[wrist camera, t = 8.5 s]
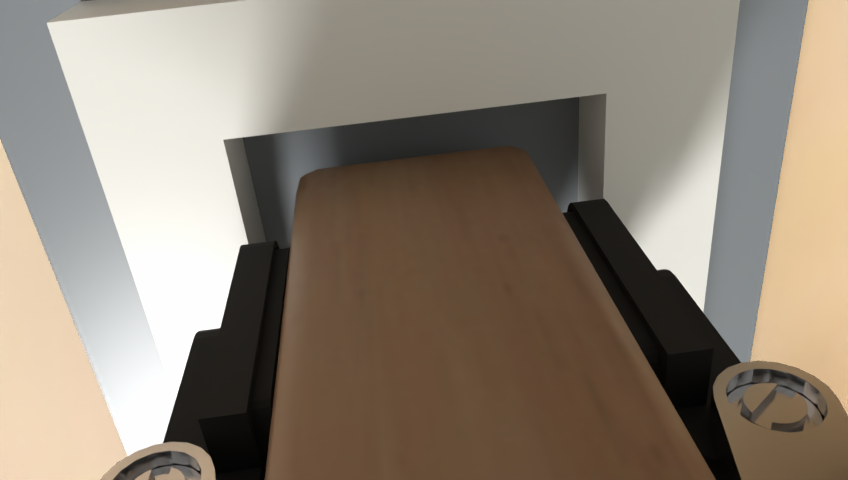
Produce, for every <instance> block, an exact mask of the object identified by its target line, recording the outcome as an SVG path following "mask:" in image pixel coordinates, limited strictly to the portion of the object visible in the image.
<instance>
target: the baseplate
mask: <svg viewBox="0 0 848 480" xmlns="http://www.w3.org/2000/svg"><path fill="white" fill-rule="evenodd" d="M807 5H808V0H0V139H1V142H2V144H3V147H4V149H5V152H6V154H7V157H8V159H9V162H10V164H11V167H12V169H13V172H14V174H15V177H16V179H17V182H18V184H19V187H20V189H21V192H22V194H23V197H24V199H25V202H26V204H27V207H28V209H29V212H30V214H31V217H32V219H33V222H34V224H35V227H36V229H37V232H38V234H39V236H40V239H41V241H42V244H43V246H44V249H45V251H46V254H47V256H48V259H49V261H50V264H51V266H52V269H53V271H54V274H55V276H56V279H57V281H58V284H59V286H60V289H61V291H62V294H63V296H64V299H65V301H66V304H67V306H68V309H69V311H70V314H71V316H72V319H73V321H74V324H75V326H76V329H77V331H78V334H79V336H80V338H81V341H82V343H83V346H84V348H85V351H86V353H87V356H88V358H89V361H90V363H91V366H92V368H93V371H94V373H95V376H96V378H97V381H98V383H99V386H100V388H101V391H102V393H103V396H104V398H105V401H106V403H107V406H108V408H109V411H110V413H111V416H112V418H113V421H114V423H115V426H116V428H117V431H118V433H119V436H120V438H121V441H122V443H123V445H124V448H125V450H126V453H127V455H128V456H129V455H131V454H132V453H134V452H136V451H139V450H141V449H144V448H147V447H149V446H152V445H156V444H161V443H163V441H164V438H165V434H166V431H167V427H168V424H169V421H170V417H171V414H172V410H173V407H174V404H175V400H176V397H177V393H178V390H179V386H180V383H181V380H182V376H183V373H184V369H185V366H186V362H187V359H188V356H189V352H190V349H191V345H192V342H193V339H194V336H195V334H196V333H197V332H198V331H201V330H209V329H216V328H220V327H221V323H222V319H223V315H224V310H225V306H226V302H227V298H228V294H229V290H230V286H231V282H232V278H233V274H234V270H235V265H236V261H237V257H238V253H239V249H240V246H241V245H245V244H253V243H261V242H269V241H277V243H278V245H279V249H284V248H290V244H291V235H292V226H293V217H294V208H295V199H296V192H297V189H298V185H299V181H300V178H301V177H302V176H304V175H305V174H308V173H310V172H312V171H314V170H317V169H323V168H331V167H339V166H347V165H355V164H363V163H371V162H379V161H387V160H395V159H404V158H412V157H420V156H428V155H436V154H444V153H452V152H460V151H468V150H476V149H484V148H493V147H501V146H512V147H516V148H521V149H524V150H526V151H527V153H528V154H529V156H530V158H531V160H532V161H533V163H534V165H535V167H536V168H537V170H538V172H539V173H540V175H541V177H542V179H543V180H544V182H545V184H546V186H547V187H548V189H549V191H550V193H551V194H552V196H553V198H554V200H555V201H556V203H557V205H558V206H559V208H560V210H561V212H562V213H564V212H567V209H568V205H569V204H570V203H573V202H581V201H589V200H597V199H605V200H606V201H607V202H608V203H609V205H610V206H611V207H612V209H613V210H614V212H615V213H616V214H617V216H618V217H619V218H620V220H621V221H622V223H623V224H624V225H625V227H626V228H627V229H628V231H629V232H630V234H631V235H632V236H633V238H634V239H635V241H636V242H637V243H638V245H639V246H640V247H641V249H642V250H643V252H644V253H645V254H646V256H647V257H648V258H649V260H650V261H651V263H652V264H653V265H654V267H655V268H656V269H657V270H661V269H667V270H670V271H671V272H672V273H673V274H674V275H675V276H676V277H677V278H678V280H679V281H680V282H681V284H682V285H683V286H684V288H685V289H686V290H687V292H688V293H689V294H690V296H691V297H692V298H693V300H694V301H695V302H696V304H697V305H698V306H699V308H700V309H701V310H702V311H703V313H704V314H705V315H706V317H707V318H708V319H709V321H710V322H711V323H712V325H713V326H714V327H715V329H716V330H717V331H718V333H719V334H720V335H721V337H722V338H723V339H724V341H725V342H726V343H727V344H728V346H729V347H730V348H731V350H732V351H733V352H734V354H735V355H736V356H737V358H738V359H739V360H740V362H741V363H743V362H750V357H751V351H752V345H753V338H754V332H755V326H756V320H757V314H758V308H759V301H760V295H761V289H762V283H763V277H764V271H765V264H766V258H767V252H768V246H769V240H770V234H771V227H772V221H773V215H774V209H775V203H776V197H777V190H778V184H779V178H780V172H781V166H782V160H783V153H784V147H785V141H786V135H787V129H788V123H789V116H790V110H791V104H792V98H793V92H794V86H795V79H796V73H797V67H798V61H799V55H800V48H801V42H802V36H803V30H804V24H805V18H806V11H807Z"/></svg>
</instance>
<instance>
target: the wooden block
mask: <svg viewBox="0 0 848 480" xmlns="http://www.w3.org/2000/svg"><path fill="white" fill-rule="evenodd" d="M265 480H716V479H715V477H714V476H713V474H712V472H711V470H710V469H709V467H708V465H707V463H706V462H705V460H704V458H703V456H702V455H701V453H700V451H699V449H698V448H697V446H696V444H695V443H694V441H693V439H692V437H691V436H690V434H689V432H688V430H687V429H686V427H685V425H684V423H683V422H682V420H681V418H680V416H679V415H678V413H677V411H676V410H675V408H674V406H673V404H672V403H671V401H670V399H669V397H668V396H667V394H666V392H665V390H664V389H663V387H662V385H661V384H660V382H659V380H658V378H657V377H656V375H655V373H654V371H653V370H652V368H651V366H650V364H649V363H648V361H647V359H646V357H645V356H644V354H643V352H642V351H641V349H640V347H639V345H638V344H637V342H636V340H635V338H634V337H633V335H632V333H631V331H630V330H629V328H628V326H627V324H626V323H625V321H624V319H623V318H622V316H621V314H620V312H619V311H618V309H617V307H616V305H615V304H614V302H613V300H612V298H611V297H610V295H609V293H608V292H607V290H606V288H605V286H604V285H603V283H602V281H601V279H600V278H599V276H598V274H597V272H596V271H595V269H594V267H593V265H592V264H591V262H590V260H589V259H588V257H587V255H586V253H585V252H584V250H583V248H582V246H581V245H580V243H579V241H578V239H577V238H576V236H575V234H574V232H573V231H572V229H571V227H570V226H569V224H568V222H567V220H566V219H565V217H564V215H563V213H562V212H561V210H560V208H559V206H558V205H557V203H556V201H555V200H554V198H553V196H552V194H551V193H550V191H549V189H548V187H547V186H546V184H545V182H544V180H543V179H542V177H541V175H540V173H539V172H538V170H537V168H536V167H535V165H534V163H533V161H532V160H531V158H530V156H529V154H528V153H527V151H526V150H524V149H521V148H516V147H512V146H501V147H493V148H484V149H476V150H468V151H460V152H452V153H444V154H436V155H428V156H420V157H412V158H404V159H395V160H387V161H379V162H371V163H363V164H355V165H347V166H339V167H331V168H323V169H317V170H314V171H312V172H310V173H308V174H305V175H304V176H302V177H301V178H300V181H299V185H298V189H297V192H296V199H295V208H294V217H293V226H292V235H291V244H290V254H289V263H288V272H287V281H286V290H285V299H284V308H283V317H282V327H281V336H280V345H279V354H278V363H277V372H276V381H275V390H274V399H273V409H272V418H271V427H270V436H269V445H268V454H267V463H266V472H265Z"/></svg>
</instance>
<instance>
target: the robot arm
mask: <svg viewBox="0 0 848 480" xmlns="http://www.w3.org/2000/svg"><path fill="white" fill-rule="evenodd" d="M563 215H564V217H565V219H566V220H567V222H568V224H569V226H570V227H571V229H572V231H573V232H574V234H575V236H576V238H577V239H578V241H579V243H580V245H581V246H582V248H583V250H584V252H585V253H586V255H587V257H588V259H589V260H590V262H591V264H592V265H593V267H594V269H595V271H596V272H597V274H598V276H599V278H600V279H601V281H602V283H603V285H604V286H605V288H606V290H607V292H608V293H609V295H610V297H611V298H612V300H613V302H614V304H615V305H616V307H617V309H618V311H619V312H620V314H621V316H622V318H623V319H624V321H625V323H626V324H627V326H628V328H629V330H630V331H631V333H632V335H633V337H634V338H635V340H636V342H637V344H638V345H639V347H640V349H641V351H642V352H643V354H644V356H645V357H646V359H647V361H648V363H649V364H650V366H651V368H652V370H653V371H654V373H655V375H656V377H657V378H658V380H659V382H660V384H661V385H662V387H663V389H664V390H665V392H666V394H667V396H668V397H669V399H670V401H671V403H672V404H673V406H674V408H675V410H676V411H677V413H678V415H679V416H680V418H681V420H682V422H683V423H684V425H685V427H686V429H687V430H688V432H689V434H690V436H691V437H692V439H693V441H694V443H695V444H696V446H697V448H698V449H699V451H700V453H701V455H702V456H703V458H704V460H705V462H706V463H707V465H708V467H709V469H710V470H711V472H712V474H713V476H714V477H715V479H716V480H848V415H847V413H846V412H845V410H844V408H843V406H842V404H841V403H840V401H839V399H838V398H837V396H836V395H835V394H834V393H833V391H832V390H831V389H830V388H829V387H828V386H827V385H826V384H824V383H823V382H822V381H820V380H819V379H818V378H816V377H815V376H813V375H811V374H809V373H807V372H805V371H803V370H800V369H798V368H796V367H792V366H788V365H785V364H781V363H776V362H766V361H753V362H743V363H741V362H740V360H739V359H738V358H737V356H736V355H735V354H734V352H733V351H732V350H731V348H730V347H729V346H728V344H727V343H726V342H725V341H724V339H723V338H722V337H721V335H720V334H719V333H718V331H717V330H716V329H715V327H714V326H713V325H712V323H711V322H710V321H709V319H708V318H707V317H706V315H705V314H704V313H703V311H702V310H701V309H700V308H699V306H698V305H697V304H696V302H695V301H694V300H693V298H692V297H691V296H690V294H689V293H688V292H687V290H686V289H685V288H684V286H683V285H682V284H681V282H680V281H679V280H678V278H677V277H676V276H675V275H674V274H673V273H672V272H671V271H670V270H667V269H661V270H657V269H656V268H655V267H654V265H653V264H652V263H651V261H650V260H649V258H648V257H647V256H646V254H645V253H644V252H643V250H642V249H641V247H640V246H639V245H638V243H637V242H636V241H635V239H634V238H633V236H632V235H631V234H630V232H629V231H628V229H627V228H626V227H625V225H624V224H623V223H622V221H621V220H620V218H619V217H618V216H617V214H616V213H615V212H614V210H613V209H612V207H611V206H610V205H609V203H608V202H607V201H606V200H605V199H597V200H589V201H581V202H573V203H570V204H569V205H568V209H567V212H564V213H563ZM289 254H290V248H284V249H279V245H278V243H277V241H269V242H261V243H253V244H245V245H241V246H240V249H239V253H238V257H237V261H236V265H235V270H234V274H233V278H232V282H231V286H230V290H229V294H228V298H227V302H226V306H225V310H224V315H223V319H222V323H221V327H220V328H216V329H209V330H201V331H198V332H197V333H196V334H195V336H194V339H193V342H192V345H191V349H190V352H189V356H188V359H187V362H186V366H185V369H184V373H183V376H182V380H181V383H180V386H179V390H178V393H177V397H176V400H175V404H174V407H173V410H172V414H171V417H170V421H169V424H168V427H167V431H166V434H165V438H164V441H163V443H161V444H156V445H152V446H149V447H147V448H144V449H141V450H139V451H136V452H134V453H132V454H131V455H129V456H128V457H126V458H124V459H123V460H121V461H119V462H118V463H117V464H116V465H114V466H113V467H112V468H111V469H110V470H109V471H108V472H107V473H106V474H105V475H104V476H103V477H102V478H101V480H265V472H266V463H267V454H268V445H269V436H270V427H271V418H272V409H273V399H274V390H275V381H276V372H277V363H278V354H279V345H280V336H281V327H282V317H283V308H284V299H285V290H286V281H287V272H288V263H289Z"/></svg>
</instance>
